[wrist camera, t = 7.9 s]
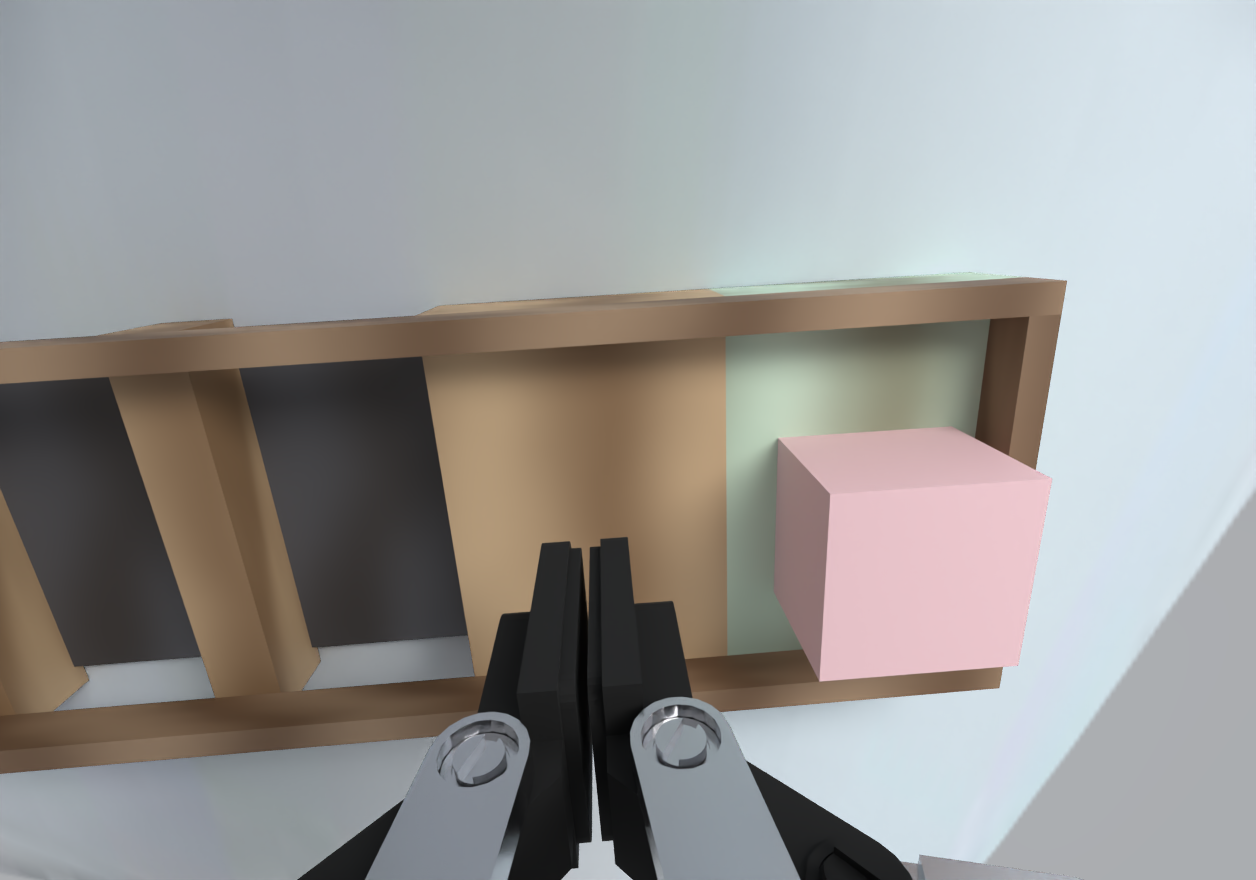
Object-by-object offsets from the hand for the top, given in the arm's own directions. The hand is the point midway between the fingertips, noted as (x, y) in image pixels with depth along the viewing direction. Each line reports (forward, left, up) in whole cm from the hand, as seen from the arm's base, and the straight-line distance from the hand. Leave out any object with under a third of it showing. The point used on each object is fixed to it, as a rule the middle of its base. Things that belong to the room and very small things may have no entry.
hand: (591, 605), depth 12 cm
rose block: (+1, +8, -6) cm, 10 cm away
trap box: (+1, -4, -8) cm, 9 cm away
